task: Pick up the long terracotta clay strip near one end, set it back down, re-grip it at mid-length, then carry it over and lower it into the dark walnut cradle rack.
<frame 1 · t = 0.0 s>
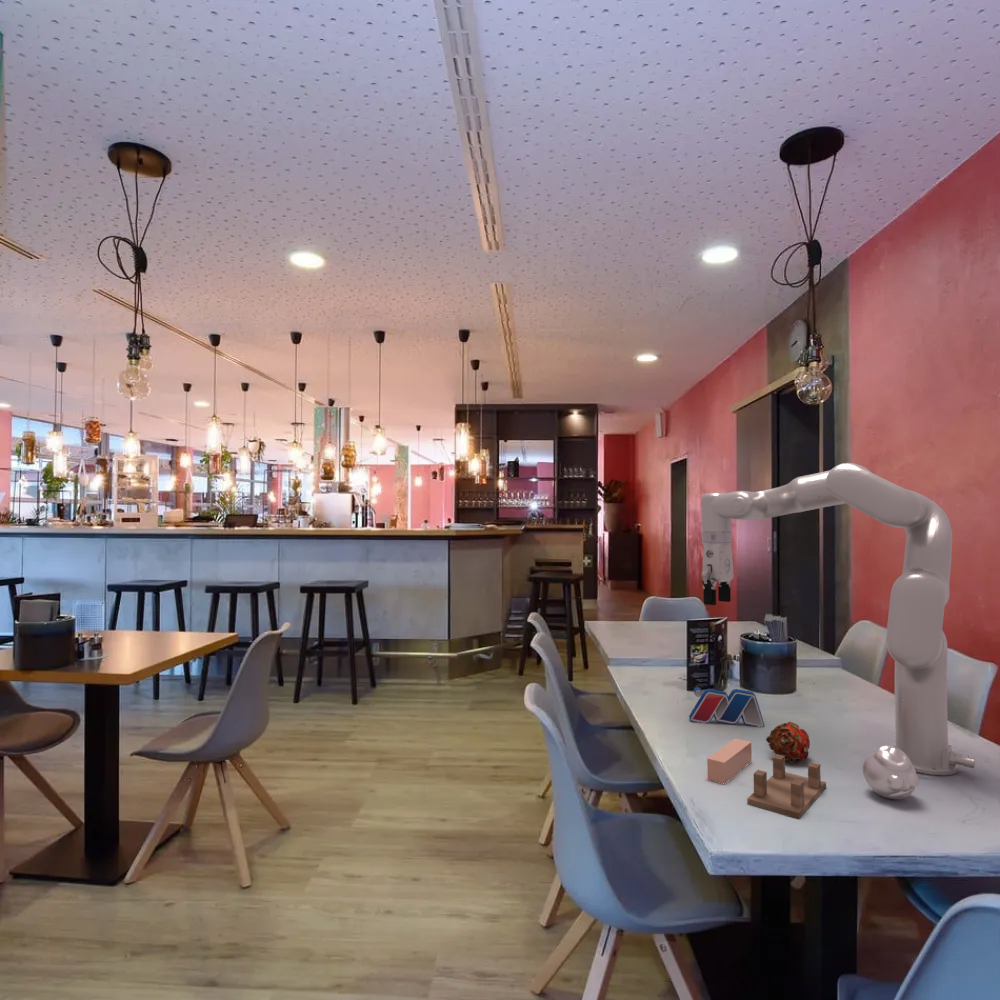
hand: (717, 603, 166), 31 cm above the table, tool pointing down, fingers open, 9 cm apart
clay strip: (730, 771, 132), on the table
logo: (726, 724, 164), on the table
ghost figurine: (890, 799, 119), on the table
dragon fruit: (788, 758, 139), on the table
rack: (787, 795, 120), on the table
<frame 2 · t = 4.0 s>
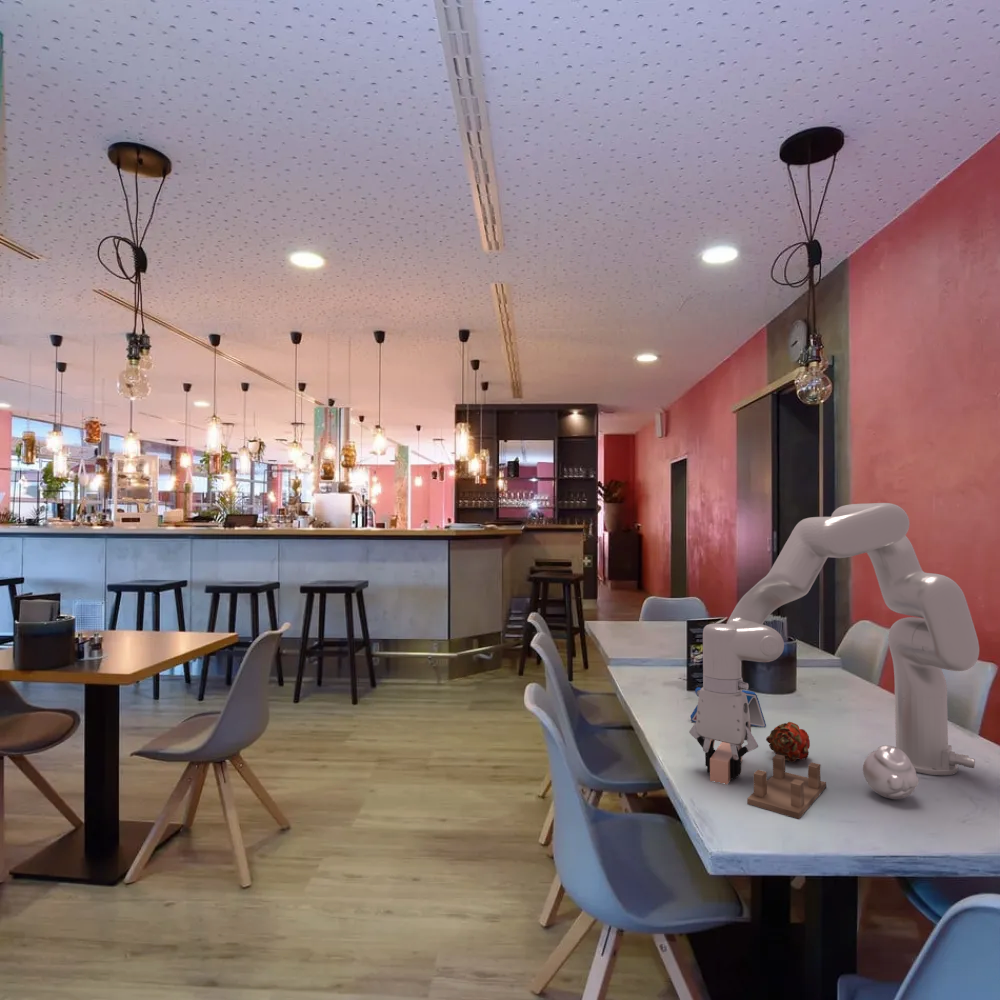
hand: (723, 773, 129), 1 cm above the table, tool pointing down, fingers closed on clay strip, 4 cm apart
clay strip: (726, 770, 132), on the table, touching gripper
everything else where it was.
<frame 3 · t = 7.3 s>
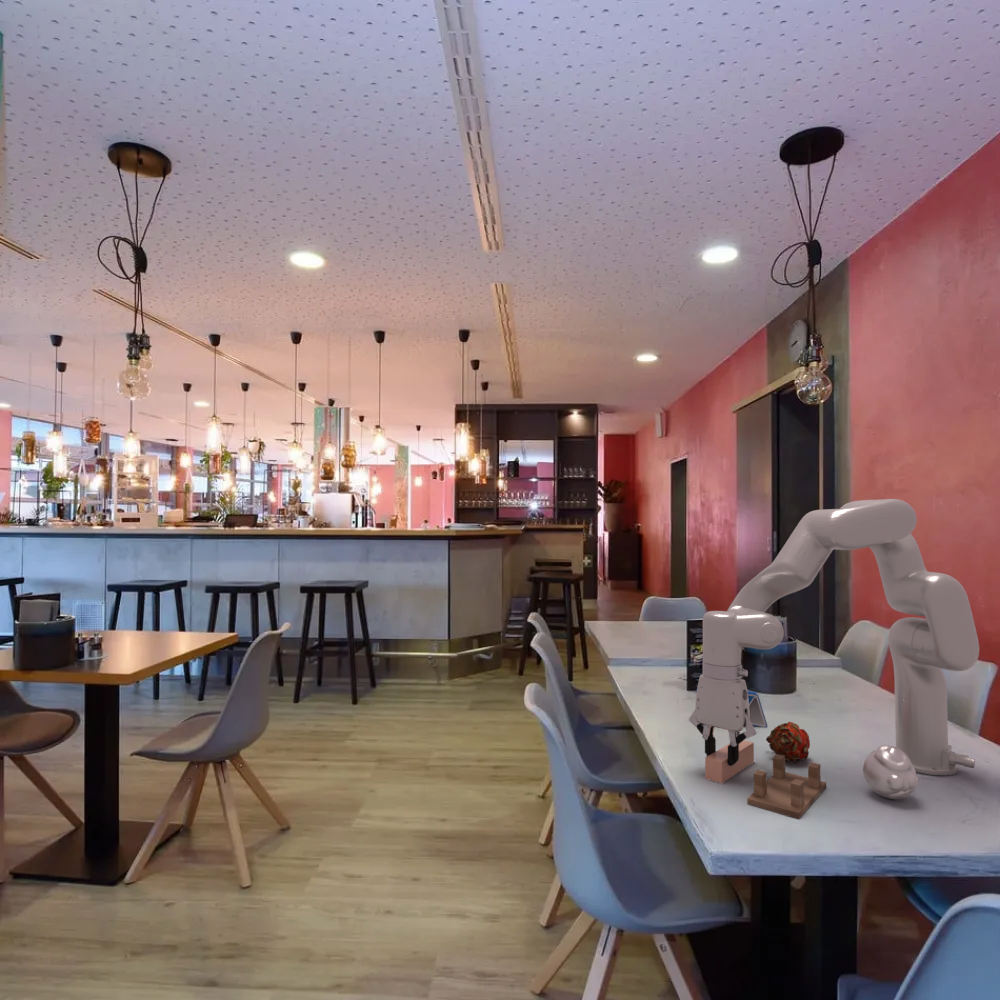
hand: (721, 760, 129), 3 cm above the table, tool pointing down, fingers open, 3 cm apart
clay strip: (730, 771, 132), on the table
everything else where it was.
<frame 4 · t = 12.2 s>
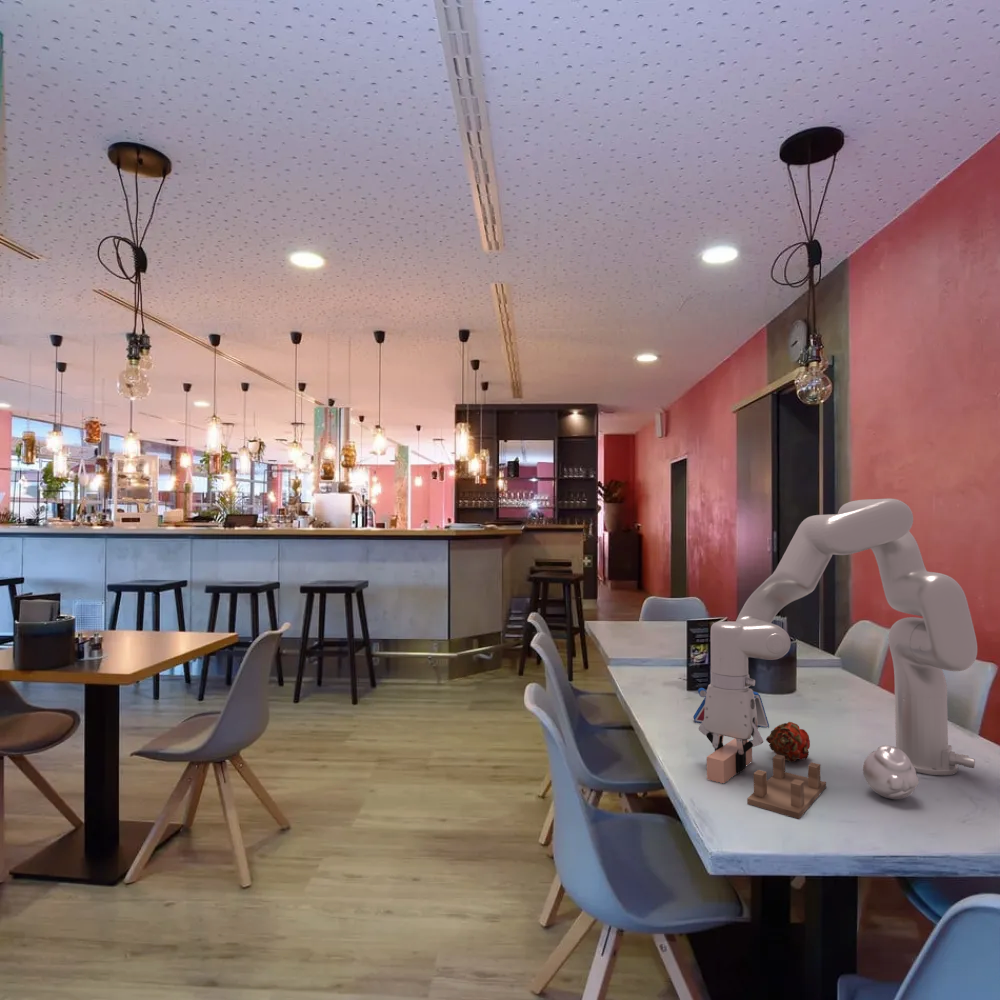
hand: (730, 767, 132), 0 cm above the table, tool pointing down, fingers closed on clay strip, 3 cm apart
clay strip: (730, 770, 132), on the table, touching gripper
when the fingers open (3 cm above the table, at t = 17.0 s): clay strip stays where it is, resting on rack.
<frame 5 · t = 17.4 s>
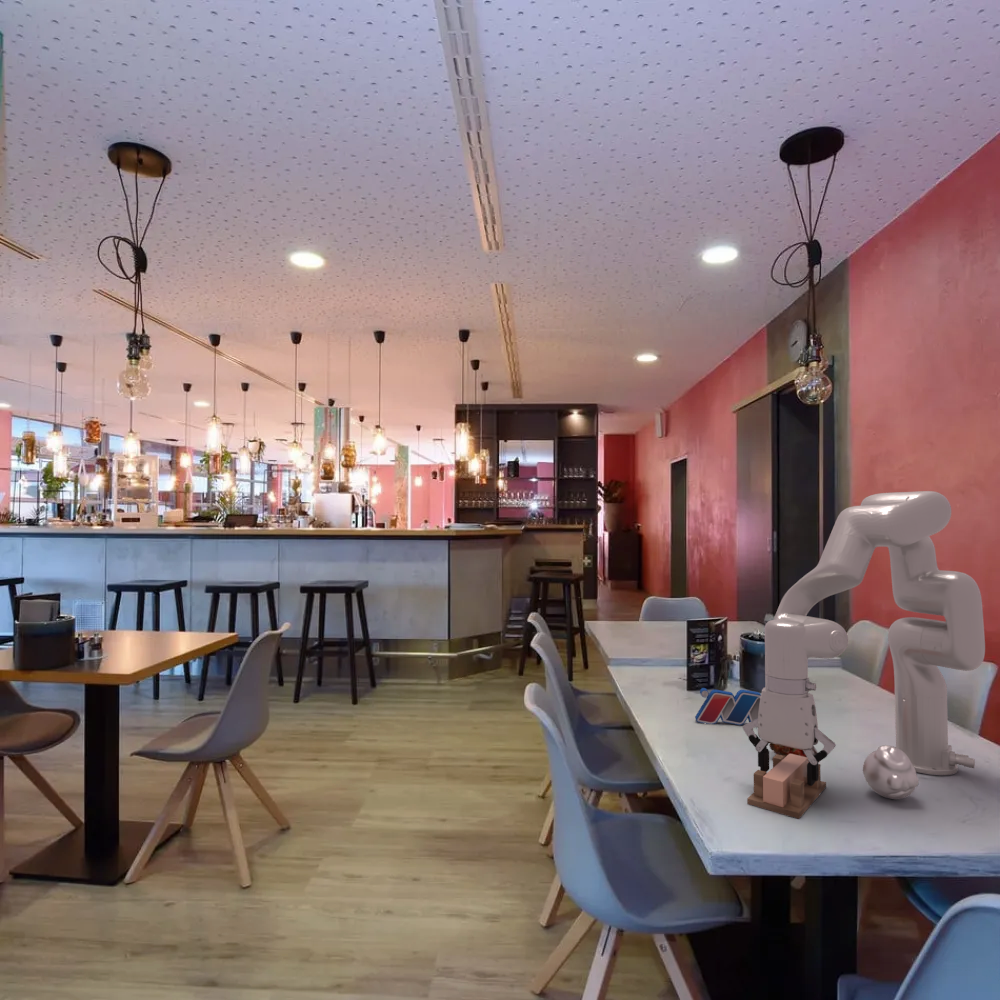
hand: (787, 776, 120), 3 cm above the table, tool pointing down, fingers open, 8 cm apart
clay strip: (786, 790, 119), point 1 cm above the table, touching rack
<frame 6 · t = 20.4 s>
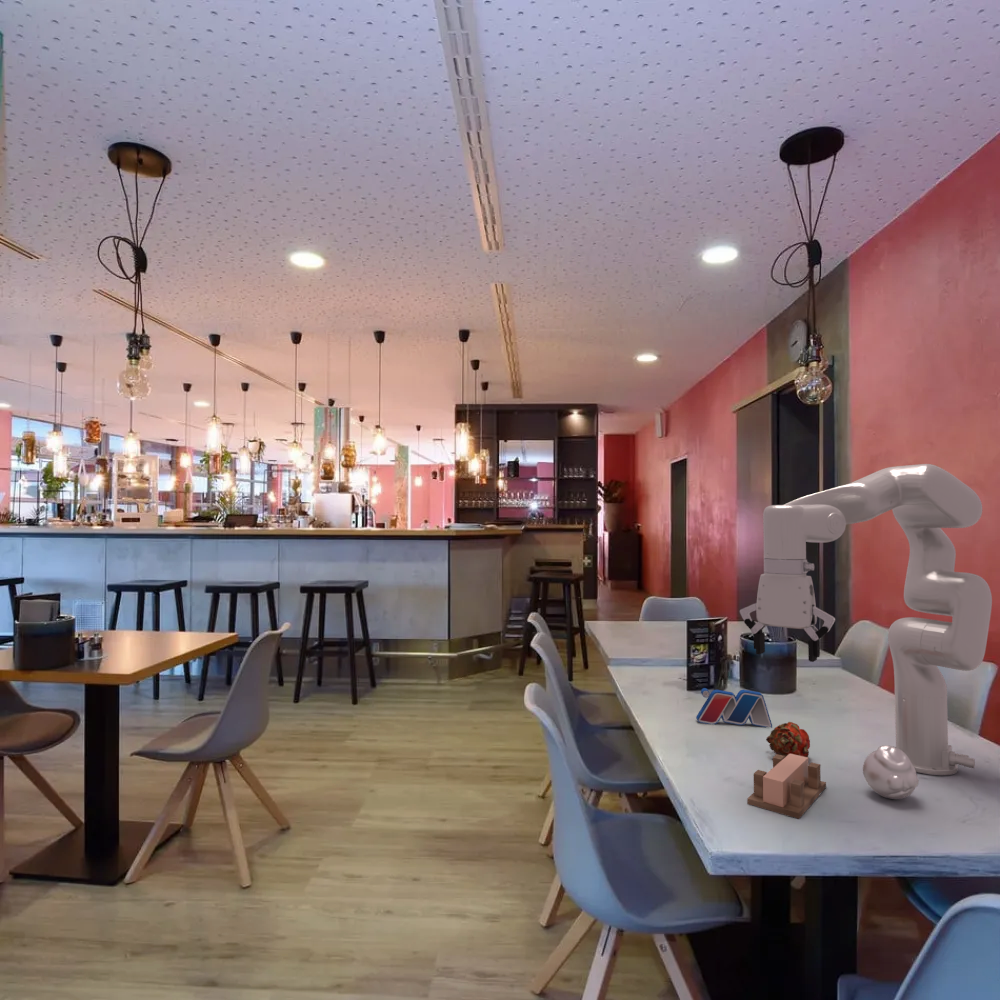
hand: (786, 656, 121), 26 cm above the table, tool pointing down, fingers open, 9 cm apart
at the end: clay strip 0.5 cm off-centre on the rack, point 1.0 cm above the rack's base; clay strip tilted 0°; the gripper is holding nothing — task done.
